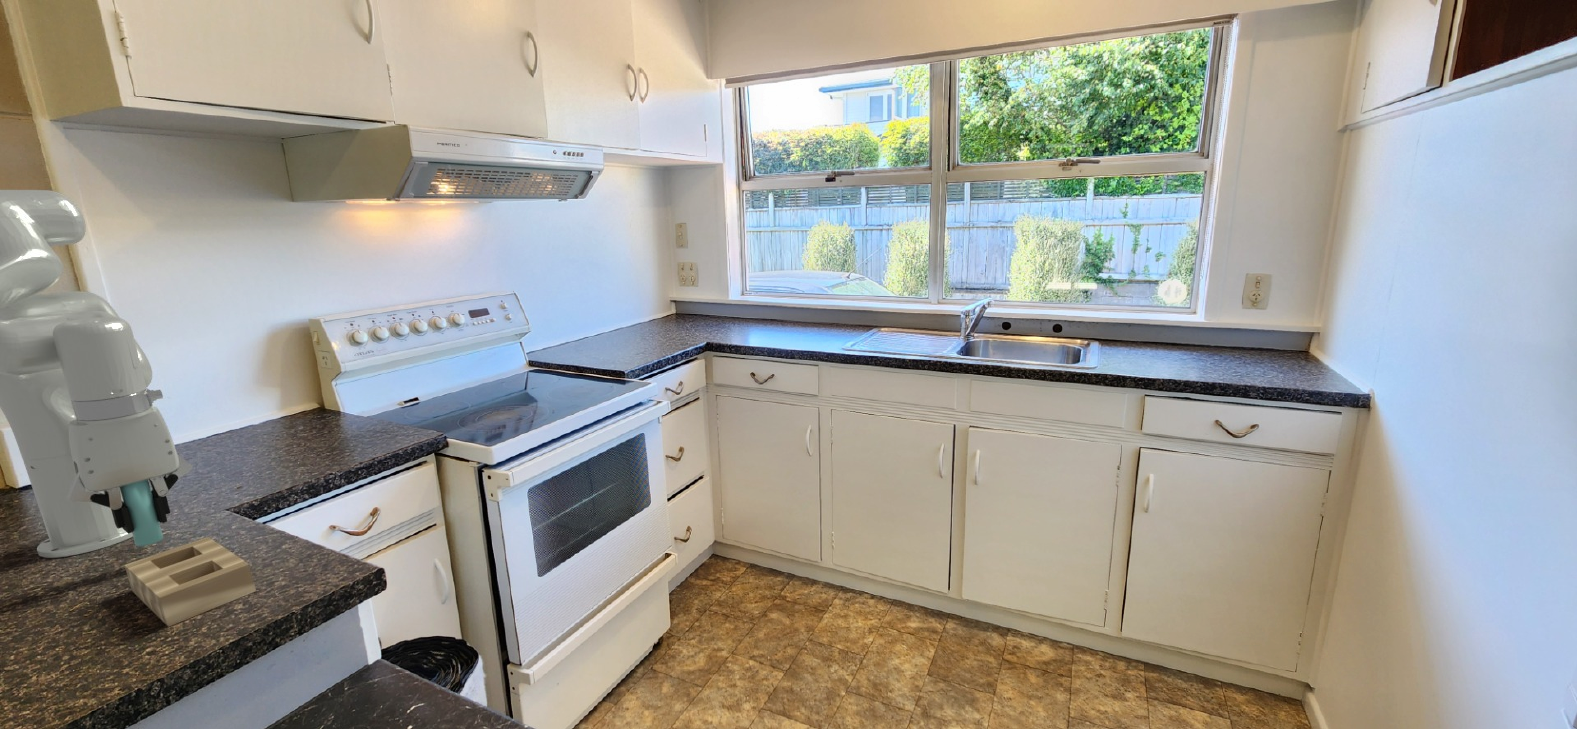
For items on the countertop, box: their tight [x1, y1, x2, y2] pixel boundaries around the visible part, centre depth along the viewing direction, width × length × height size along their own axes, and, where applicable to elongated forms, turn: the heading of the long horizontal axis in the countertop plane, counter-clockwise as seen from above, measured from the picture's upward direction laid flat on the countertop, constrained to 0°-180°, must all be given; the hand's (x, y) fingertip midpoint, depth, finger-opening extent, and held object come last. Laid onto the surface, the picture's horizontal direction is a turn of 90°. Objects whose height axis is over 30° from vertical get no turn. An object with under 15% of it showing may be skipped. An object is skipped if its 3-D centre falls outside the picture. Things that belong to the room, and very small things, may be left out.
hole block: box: [123, 536, 257, 627], centre depth 89 cm, size 16×9×4 cm, turn 56°
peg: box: [120, 480, 164, 547], centre depth 96 cm, size 3×3×10 cm
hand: (144, 524), depth 97 cm, fingers closed on peg, 3 cm apart
